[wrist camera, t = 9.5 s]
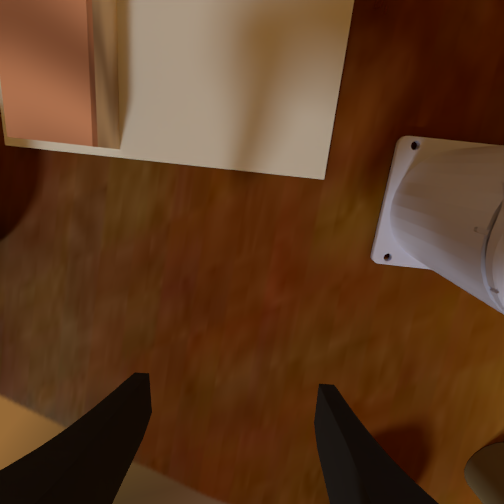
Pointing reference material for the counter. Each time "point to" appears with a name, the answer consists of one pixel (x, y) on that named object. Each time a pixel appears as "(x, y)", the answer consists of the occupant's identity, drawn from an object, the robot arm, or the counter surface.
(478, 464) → the cork
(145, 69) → the mat
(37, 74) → the pink and beige box
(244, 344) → the counter surface
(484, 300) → the robot arm
